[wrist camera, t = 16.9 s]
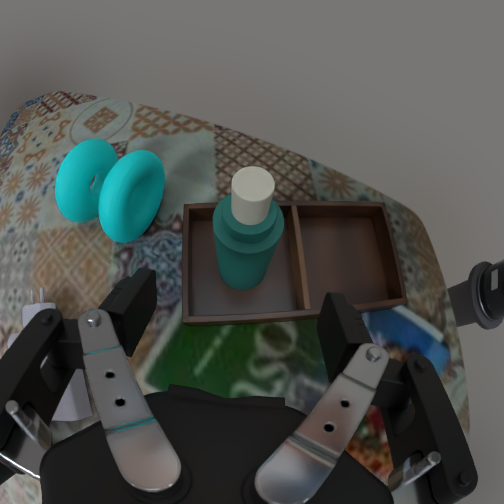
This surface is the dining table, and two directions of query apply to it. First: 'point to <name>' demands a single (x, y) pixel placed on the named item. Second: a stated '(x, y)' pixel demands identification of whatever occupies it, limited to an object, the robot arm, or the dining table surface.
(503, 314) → the robot arm
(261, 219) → the bottle
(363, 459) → the dining table surface
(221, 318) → the tray
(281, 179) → the dining table surface
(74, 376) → the charger
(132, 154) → the donuts
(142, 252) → the dining table surface
